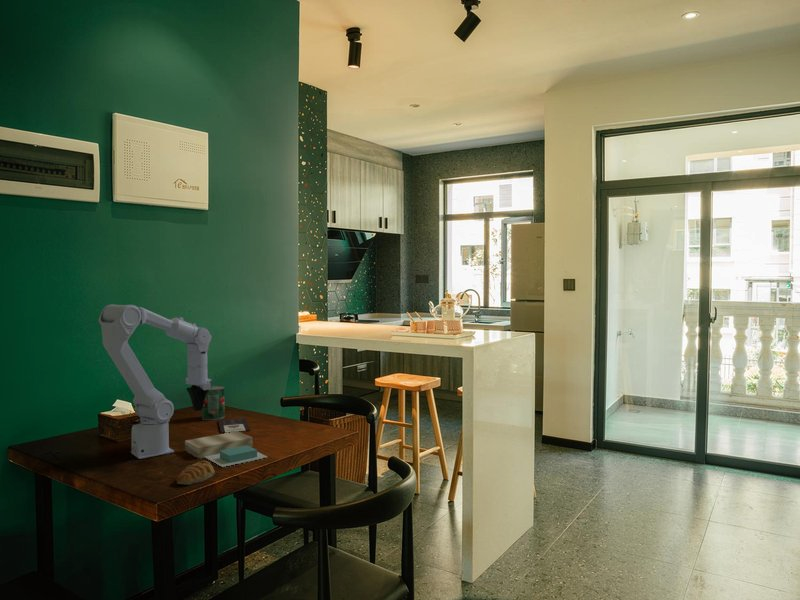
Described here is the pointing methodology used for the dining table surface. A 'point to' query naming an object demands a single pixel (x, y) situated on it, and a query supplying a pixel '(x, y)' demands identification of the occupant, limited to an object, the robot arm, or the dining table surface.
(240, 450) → the tile
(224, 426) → the chocolate bar
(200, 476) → the pastry
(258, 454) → the mat
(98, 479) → the dining table surface
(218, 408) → the canned tomato
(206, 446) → the beige flat block
